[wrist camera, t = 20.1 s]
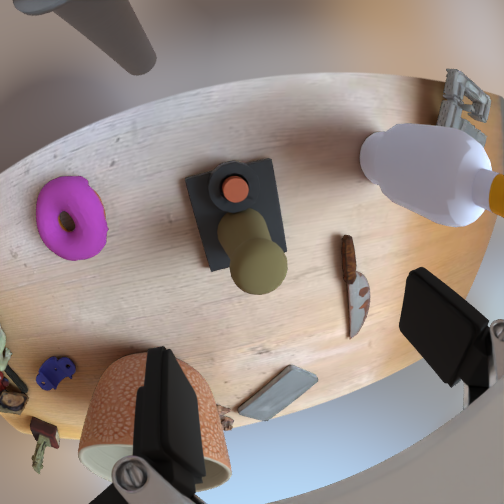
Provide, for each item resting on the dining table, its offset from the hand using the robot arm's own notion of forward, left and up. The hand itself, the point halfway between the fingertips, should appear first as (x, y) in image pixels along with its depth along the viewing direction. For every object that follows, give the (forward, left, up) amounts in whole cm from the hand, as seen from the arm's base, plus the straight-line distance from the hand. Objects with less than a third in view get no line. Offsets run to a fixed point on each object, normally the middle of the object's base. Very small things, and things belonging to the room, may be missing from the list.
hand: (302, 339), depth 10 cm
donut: (+12, -15, -25) cm, 32 cm away
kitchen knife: (+2, +26, -25) cm, 36 cm away
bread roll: (+66, -19, -25) cm, 73 cm away
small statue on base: (+76, -12, -26) cm, 81 cm away
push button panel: (+2, +3, -25) cm, 25 cm away
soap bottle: (-16, +14, -25) cm, 33 cm away
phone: (+28, +29, -24) cm, 46 cm away
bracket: (+41, -11, -22) cm, 48 cm away
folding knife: (+53, -21, -25) cm, 62 cm away
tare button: (-1, 0, -23) cm, 23 cm away
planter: (+33, +6, -25) cm, 41 cm away
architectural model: (-27, +25, -21) cm, 43 cm away
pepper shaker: (+3, +4, -24) cm, 25 cm away
